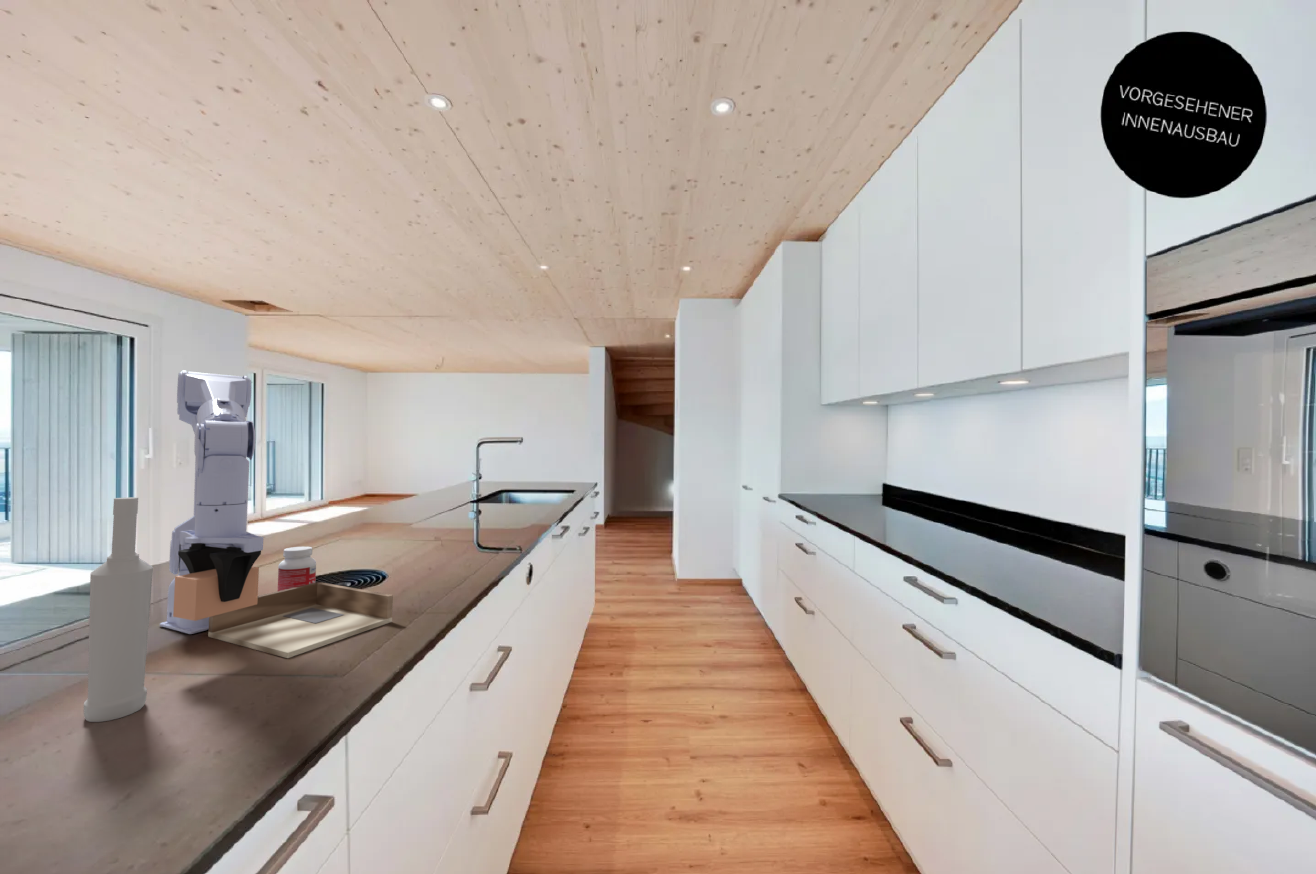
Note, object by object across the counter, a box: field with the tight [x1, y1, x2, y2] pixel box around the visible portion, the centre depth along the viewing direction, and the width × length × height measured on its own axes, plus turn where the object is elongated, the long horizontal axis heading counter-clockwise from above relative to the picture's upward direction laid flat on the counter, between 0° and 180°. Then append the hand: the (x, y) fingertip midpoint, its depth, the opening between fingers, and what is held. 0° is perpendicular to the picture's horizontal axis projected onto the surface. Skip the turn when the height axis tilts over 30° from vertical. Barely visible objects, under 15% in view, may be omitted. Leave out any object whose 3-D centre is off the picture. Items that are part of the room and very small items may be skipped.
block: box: [173, 566, 260, 621], centre depth 74 cm, size 8×4×6 cm, turn 162°
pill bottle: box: [276, 546, 317, 592], centre depth 101 cm, size 6×6×11 cm
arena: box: [207, 581, 394, 659], centre depth 88 cm, size 20×18×5 cm
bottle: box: [83, 496, 154, 723], centre depth 60 cm, size 5×5×25 cm
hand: (218, 598), depth 74 cm, fingers closed on block, 4 cm apart
